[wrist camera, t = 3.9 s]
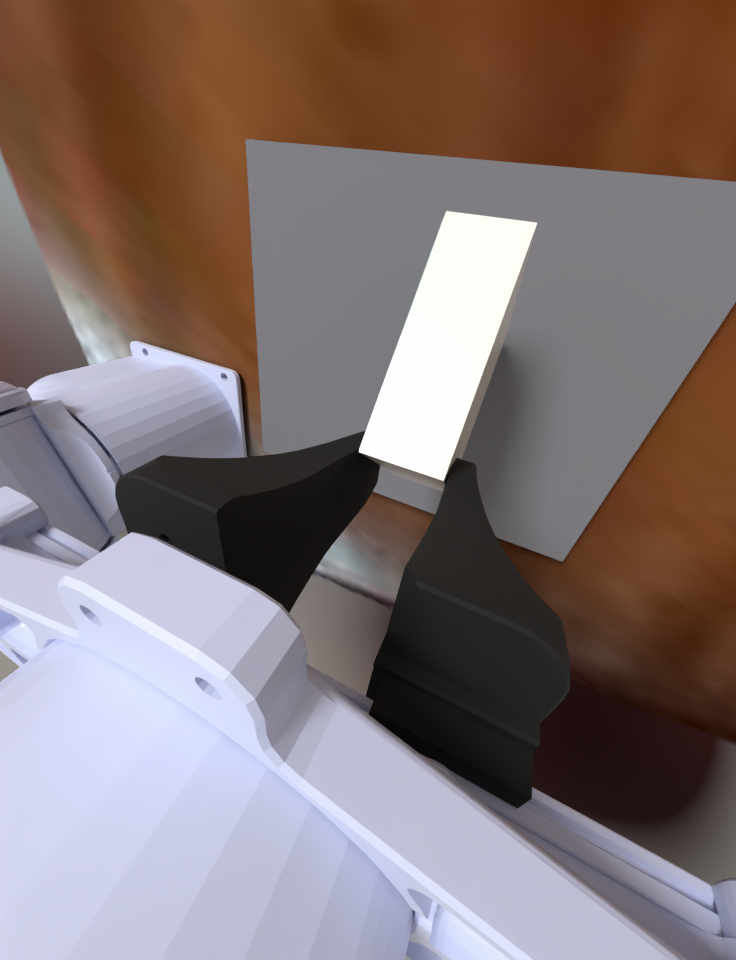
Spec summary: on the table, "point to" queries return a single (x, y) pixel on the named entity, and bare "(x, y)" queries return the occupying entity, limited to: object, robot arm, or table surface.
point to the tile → (448, 347)
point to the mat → (533, 326)
